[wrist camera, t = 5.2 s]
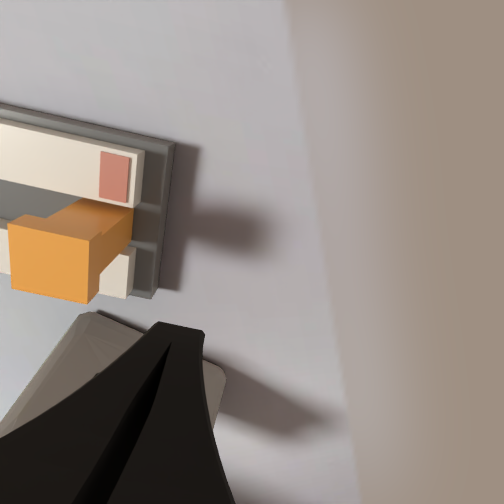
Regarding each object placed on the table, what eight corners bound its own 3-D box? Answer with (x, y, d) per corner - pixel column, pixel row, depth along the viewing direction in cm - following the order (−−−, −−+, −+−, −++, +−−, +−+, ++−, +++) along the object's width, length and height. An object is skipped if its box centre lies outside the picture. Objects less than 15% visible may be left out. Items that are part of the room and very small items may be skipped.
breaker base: (157, 288, 21) (144, 311, 18) (-41, 245, 20) (-78, 264, 18) (175, 142, 17) (161, 150, 15) (-61, 89, 17) (-109, 89, 15)
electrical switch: (231, 367, 23) (194, 545, 15) (199, 414, 25) (152, 589, 17) (86, 302, 21) (-44, 458, 13) (67, 358, 24) (-52, 519, 16)
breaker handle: (134, 250, 18) (87, 304, 14) (78, 238, 18) (11, 288, 14) (138, 200, 17) (89, 241, 13) (79, 186, 17) (7, 223, 13)
